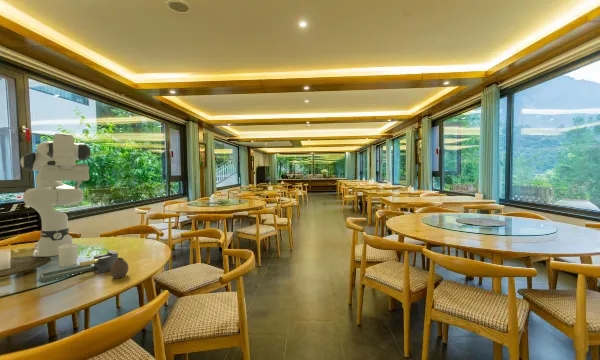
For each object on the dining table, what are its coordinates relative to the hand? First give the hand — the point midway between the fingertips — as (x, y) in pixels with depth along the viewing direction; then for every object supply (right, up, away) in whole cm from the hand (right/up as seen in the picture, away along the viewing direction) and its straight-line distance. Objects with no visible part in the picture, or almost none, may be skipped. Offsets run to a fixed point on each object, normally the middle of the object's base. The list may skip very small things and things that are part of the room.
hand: (65, 189), depth 138 cm
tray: (+14, -40, -14) cm, 44 cm away
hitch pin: (+25, -36, -10) cm, 45 cm away
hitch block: (+27, -40, -7) cm, 49 cm away
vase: (+39, -41, -15) cm, 59 cm away
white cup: (+3, -39, -2) cm, 40 cm away
